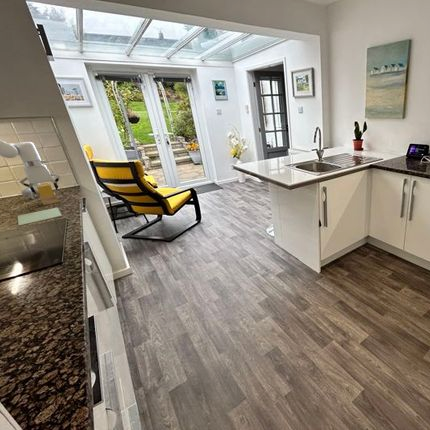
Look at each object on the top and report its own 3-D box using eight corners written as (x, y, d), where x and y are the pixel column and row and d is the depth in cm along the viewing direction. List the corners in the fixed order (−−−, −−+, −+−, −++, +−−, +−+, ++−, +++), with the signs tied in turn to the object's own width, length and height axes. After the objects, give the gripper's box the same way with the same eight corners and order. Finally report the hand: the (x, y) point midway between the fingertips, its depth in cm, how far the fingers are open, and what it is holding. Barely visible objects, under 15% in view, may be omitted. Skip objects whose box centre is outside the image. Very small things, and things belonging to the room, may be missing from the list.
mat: (18, 216, 142) (17, 215, 142) (57, 208, 153) (57, 207, 153) (18, 225, 130) (18, 225, 130) (62, 216, 141) (61, 215, 140)
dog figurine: (47, 194, 181) (41, 179, 177) (32, 199, 170) (25, 183, 166) (38, 194, 180) (31, 179, 176) (23, 200, 169) (15, 184, 165)
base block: (42, 202, 163) (39, 195, 161) (57, 199, 168) (54, 192, 166) (43, 205, 159) (39, 197, 157) (59, 202, 164) (55, 194, 162)
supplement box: (48, 198, 171) (41, 184, 167) (47, 197, 173) (41, 183, 169) (55, 197, 173) (48, 182, 169) (54, 196, 175) (48, 182, 171)
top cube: (40, 195, 161) (35, 185, 159) (53, 192, 165) (49, 183, 163) (41, 197, 158) (36, 187, 155) (54, 194, 162) (50, 185, 159)
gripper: (52, 160, 162) (64, 187, 169) (11, 165, 151) (25, 193, 157) (53, 161, 158) (65, 188, 164) (11, 167, 146) (26, 196, 153)
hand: (46, 191), depth 161 cm, fingers open, 9 cm apart
